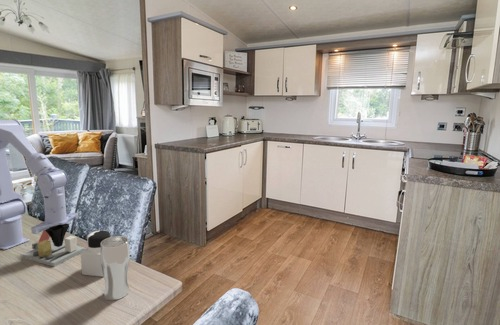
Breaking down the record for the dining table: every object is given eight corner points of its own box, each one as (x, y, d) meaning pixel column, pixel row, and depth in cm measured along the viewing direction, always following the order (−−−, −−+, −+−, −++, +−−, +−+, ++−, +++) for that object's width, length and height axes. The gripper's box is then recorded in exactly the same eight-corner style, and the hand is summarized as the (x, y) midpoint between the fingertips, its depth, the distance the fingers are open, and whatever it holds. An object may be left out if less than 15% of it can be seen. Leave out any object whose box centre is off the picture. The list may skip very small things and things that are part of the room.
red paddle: (34, 247, 92) (43, 228, 94) (37, 248, 93) (46, 228, 95) (42, 249, 91) (50, 229, 93) (45, 250, 92) (53, 230, 94)
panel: (20, 257, 89) (19, 249, 88) (53, 242, 99) (53, 235, 99) (54, 266, 84) (53, 258, 84) (85, 250, 95) (84, 243, 94)
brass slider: (38, 255, 87) (37, 243, 86) (46, 252, 89) (45, 239, 89) (44, 257, 86) (43, 244, 86) (51, 253, 89) (50, 241, 88)
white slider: (65, 250, 91) (64, 238, 90) (72, 247, 93) (71, 235, 93) (70, 252, 90) (69, 239, 90) (77, 248, 93) (76, 236, 92)
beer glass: (136, 288, 76) (135, 238, 73) (116, 304, 69) (114, 249, 67) (116, 282, 78) (114, 233, 75) (96, 297, 71) (93, 244, 69)
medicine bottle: (118, 264, 87) (116, 229, 85) (104, 277, 80) (102, 239, 78) (97, 262, 88) (95, 227, 86) (81, 275, 81) (78, 237, 79)
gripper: (41, 216, 82) (45, 258, 84) (84, 202, 95) (86, 238, 98) (24, 212, 84) (28, 253, 86) (68, 199, 97) (71, 235, 100)
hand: (58, 245), depth 92 cm, fingers closed
